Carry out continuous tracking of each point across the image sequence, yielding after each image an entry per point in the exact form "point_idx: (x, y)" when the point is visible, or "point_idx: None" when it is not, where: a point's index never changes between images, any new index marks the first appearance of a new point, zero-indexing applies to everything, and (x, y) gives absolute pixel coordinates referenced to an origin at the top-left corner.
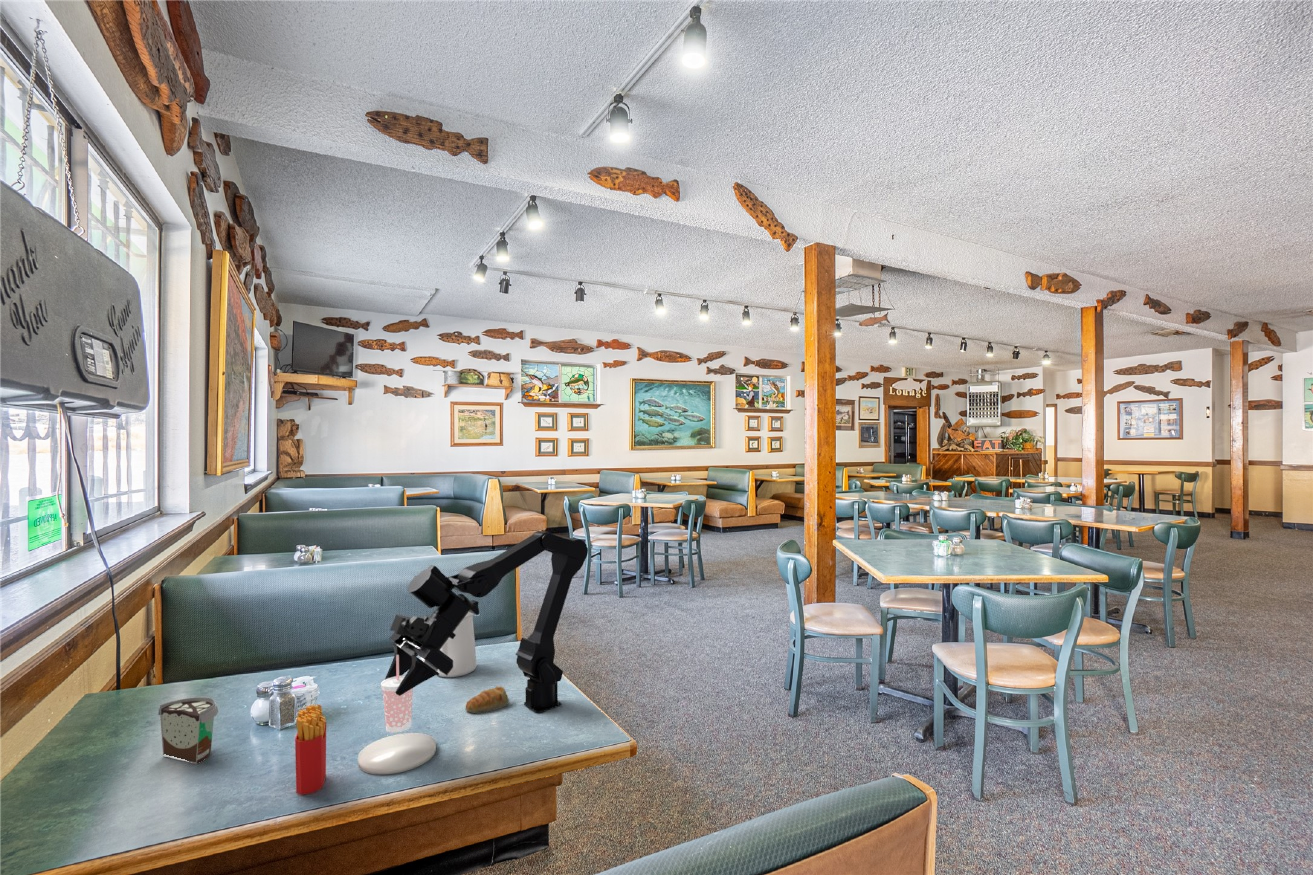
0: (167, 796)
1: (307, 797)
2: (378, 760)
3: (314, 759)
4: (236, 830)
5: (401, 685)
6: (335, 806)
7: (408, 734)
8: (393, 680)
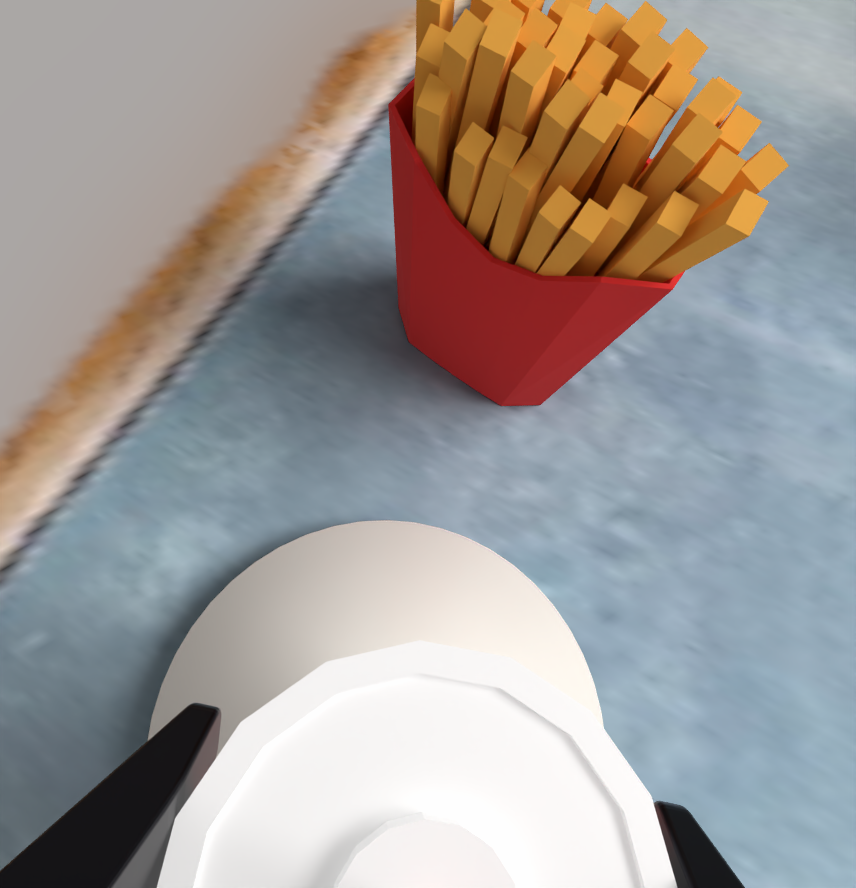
0: (813, 59)
1: (385, 276)
2: (357, 593)
3: (395, 208)
4: (385, 64)
5: (101, 785)
6: (210, 296)
7: None
8: (462, 860)
